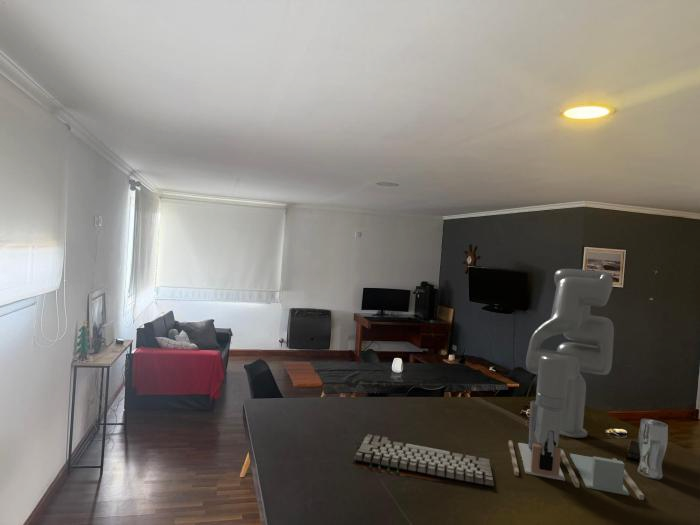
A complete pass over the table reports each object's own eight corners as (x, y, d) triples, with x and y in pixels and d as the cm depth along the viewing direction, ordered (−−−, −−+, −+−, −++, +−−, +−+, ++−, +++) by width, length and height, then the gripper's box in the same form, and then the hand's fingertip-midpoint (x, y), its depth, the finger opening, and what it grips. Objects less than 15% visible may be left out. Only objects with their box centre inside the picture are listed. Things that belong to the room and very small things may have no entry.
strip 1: (518, 444, 149) (520, 420, 149) (551, 450, 146) (553, 426, 146) (525, 473, 128) (527, 445, 128) (564, 480, 125) (567, 452, 125)
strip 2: (569, 455, 143) (572, 430, 143) (605, 461, 141) (607, 436, 141) (586, 487, 122) (589, 458, 122) (629, 495, 120) (631, 466, 119)
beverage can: (546, 456, 139) (548, 405, 139) (527, 452, 141) (530, 402, 141) (546, 450, 144) (548, 401, 144) (528, 447, 146) (530, 399, 146)
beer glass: (630, 468, 137) (634, 417, 137) (652, 469, 138) (656, 419, 138) (647, 479, 130) (651, 426, 130) (670, 480, 131) (675, 427, 131)
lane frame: (508, 443, 149) (508, 439, 149) (615, 462, 141) (616, 458, 141) (514, 475, 126) (515, 471, 126) (643, 500, 118) (644, 495, 118)
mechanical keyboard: (490, 463, 134) (491, 452, 134) (496, 495, 115) (497, 482, 115) (361, 442, 142) (362, 431, 142) (348, 469, 123) (349, 456, 123)
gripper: (532, 391, 136) (527, 454, 136) (539, 406, 121) (533, 477, 121) (560, 395, 134) (554, 458, 135) (571, 411, 119) (564, 483, 119)
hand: (544, 467), depth 128 cm, fingers closed on strip 1, 2 cm apart
